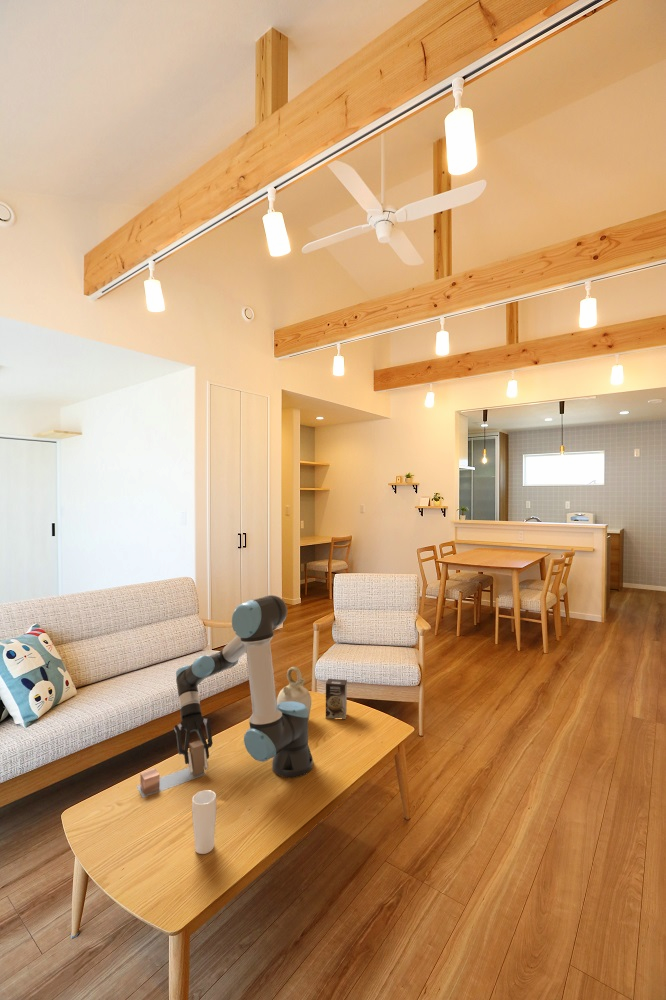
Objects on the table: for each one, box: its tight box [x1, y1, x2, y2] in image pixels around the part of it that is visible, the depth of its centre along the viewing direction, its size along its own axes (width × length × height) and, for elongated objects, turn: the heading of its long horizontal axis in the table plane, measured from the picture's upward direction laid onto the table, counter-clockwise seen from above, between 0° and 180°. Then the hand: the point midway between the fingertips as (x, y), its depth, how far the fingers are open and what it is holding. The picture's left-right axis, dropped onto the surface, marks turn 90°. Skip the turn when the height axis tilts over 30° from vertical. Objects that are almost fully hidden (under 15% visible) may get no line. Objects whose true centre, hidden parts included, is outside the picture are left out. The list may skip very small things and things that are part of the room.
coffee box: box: [325, 678, 348, 720], centre depth 217 cm, size 9×6×16 cm
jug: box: [276, 666, 312, 721], centre depth 211 cm, size 15×16×25 cm
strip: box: [136, 739, 207, 799], centre depth 168 cm, size 8×22×11 cm, turn 126°
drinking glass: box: [191, 789, 217, 855], centre depth 137 cm, size 7×7×15 cm
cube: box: [139, 767, 161, 794], centre depth 163 cm, size 5×5×5 cm
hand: (198, 770), depth 170 cm, fingers closed on strip, 5 cm apart
